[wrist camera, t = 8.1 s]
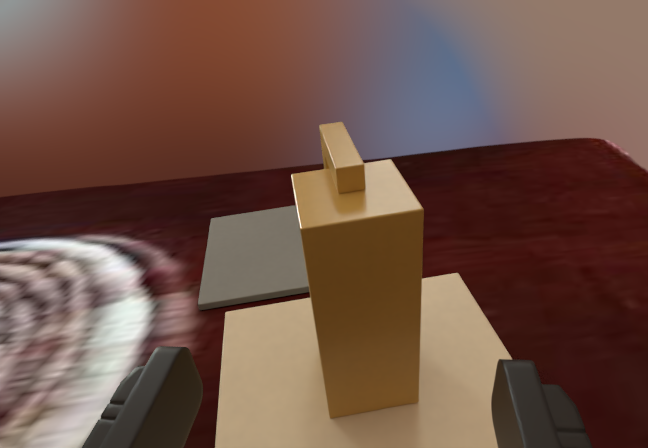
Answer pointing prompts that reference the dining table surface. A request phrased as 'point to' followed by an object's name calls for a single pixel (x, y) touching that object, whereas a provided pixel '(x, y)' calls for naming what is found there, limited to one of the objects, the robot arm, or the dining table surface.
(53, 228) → the dining table surface
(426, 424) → the beige rectangular block
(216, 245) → the left mat
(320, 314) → the golden block with ridge
